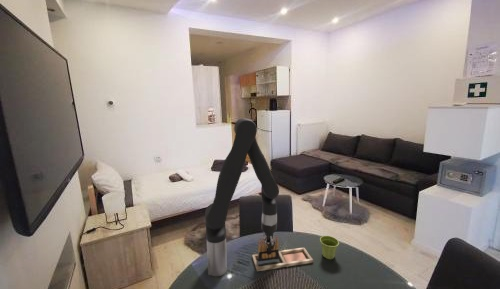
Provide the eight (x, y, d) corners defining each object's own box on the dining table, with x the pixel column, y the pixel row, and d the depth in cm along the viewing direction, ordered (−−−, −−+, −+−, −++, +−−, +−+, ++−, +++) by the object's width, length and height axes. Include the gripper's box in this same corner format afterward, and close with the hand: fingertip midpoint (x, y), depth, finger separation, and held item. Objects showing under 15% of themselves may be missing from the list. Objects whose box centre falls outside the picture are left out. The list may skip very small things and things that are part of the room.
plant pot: (335, 250, 127) (336, 236, 125) (340, 262, 118) (341, 246, 116) (317, 249, 128) (318, 235, 126) (321, 261, 119) (322, 245, 117)
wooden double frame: (256, 271, 112) (256, 268, 111) (252, 257, 122) (252, 254, 121) (313, 262, 118) (313, 259, 117) (304, 249, 127) (304, 247, 127)
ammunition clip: (258, 261, 116) (258, 239, 114) (257, 259, 118) (257, 237, 115) (278, 258, 118) (279, 237, 116) (277, 256, 120) (278, 235, 118)
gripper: (258, 214, 120) (257, 245, 123) (265, 229, 107) (264, 262, 110) (272, 213, 121) (271, 243, 125) (281, 227, 108) (279, 260, 111)
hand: (268, 252), depth 117 cm, fingers closed on ammunition clip, 2 cm apart
